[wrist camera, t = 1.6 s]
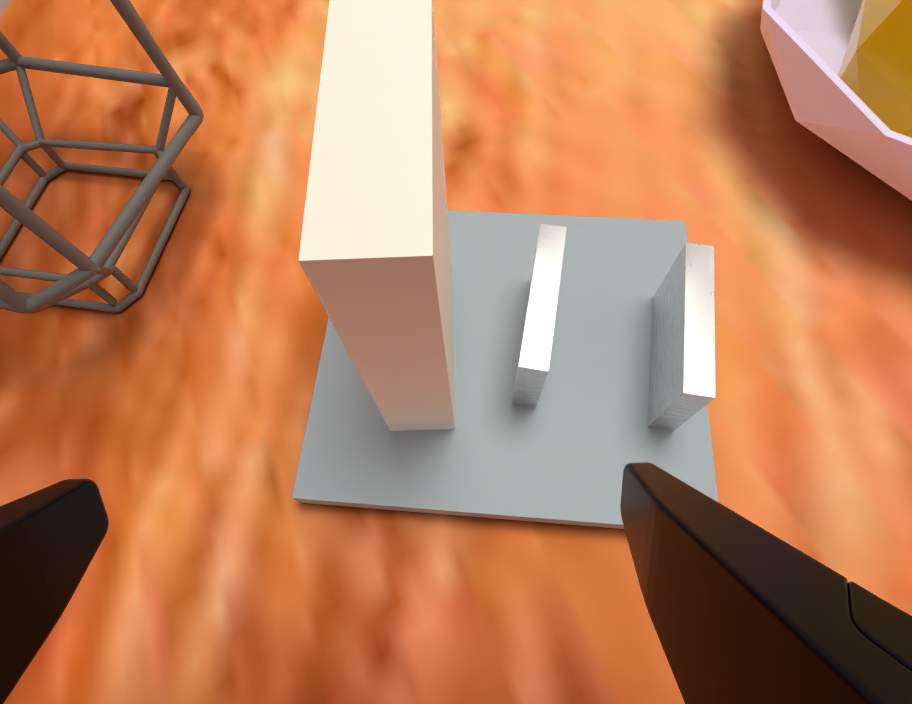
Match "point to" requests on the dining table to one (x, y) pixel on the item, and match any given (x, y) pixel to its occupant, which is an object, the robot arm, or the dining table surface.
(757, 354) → the dining table surface
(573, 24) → the dining table surface
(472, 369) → the board
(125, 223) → the geometric lantern
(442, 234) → the cream rectangular block
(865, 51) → the fruit bowl
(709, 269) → the hinge clip
